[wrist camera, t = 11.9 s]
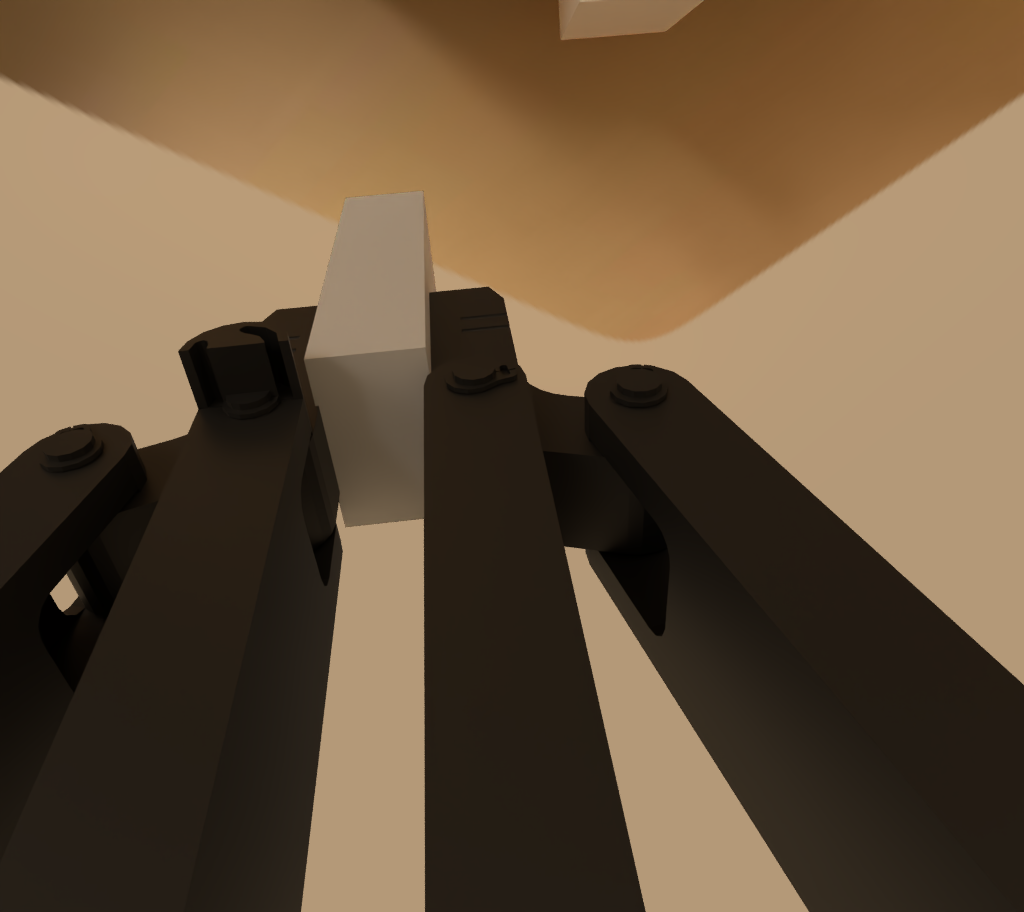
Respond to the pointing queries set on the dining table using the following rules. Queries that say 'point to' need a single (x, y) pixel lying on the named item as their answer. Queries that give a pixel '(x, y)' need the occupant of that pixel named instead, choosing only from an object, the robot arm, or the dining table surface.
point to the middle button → (619, 16)
